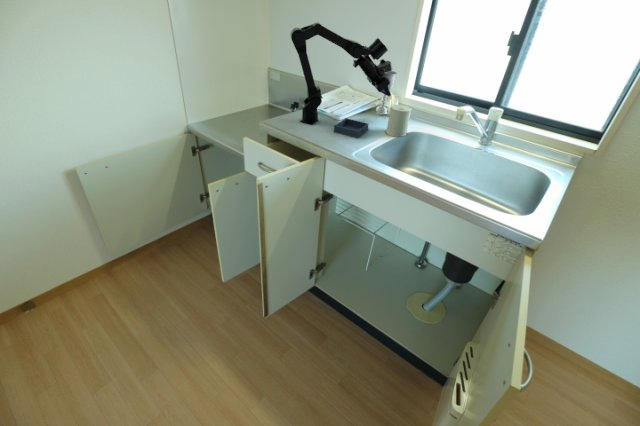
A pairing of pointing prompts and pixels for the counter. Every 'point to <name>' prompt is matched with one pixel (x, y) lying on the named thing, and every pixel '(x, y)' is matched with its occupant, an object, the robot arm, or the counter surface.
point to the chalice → (391, 77)
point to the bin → (351, 127)
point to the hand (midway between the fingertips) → (388, 93)
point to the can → (398, 120)
